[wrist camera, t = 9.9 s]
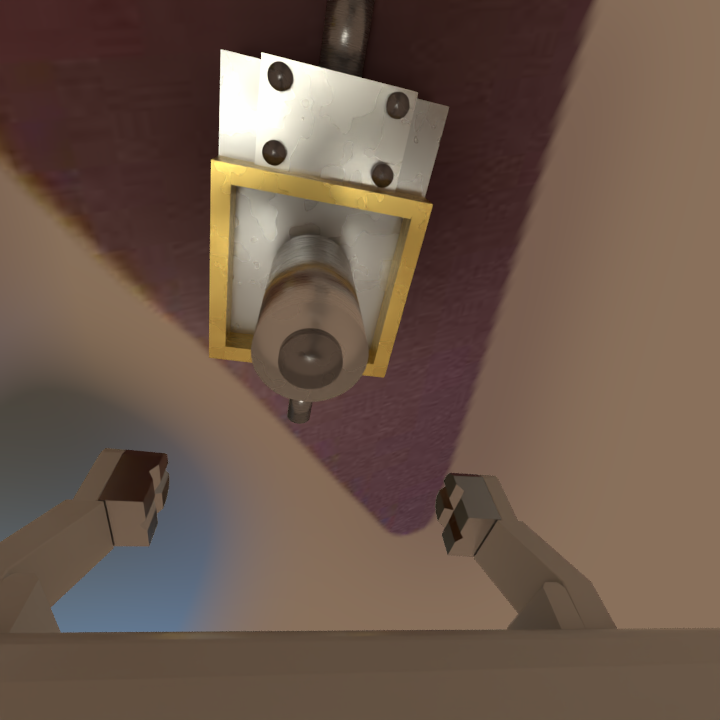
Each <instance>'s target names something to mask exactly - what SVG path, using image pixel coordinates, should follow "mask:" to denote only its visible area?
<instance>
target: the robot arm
mask: <svg viewBox="0 0 720 720" xmlns="http://www.w3.org/2000/svg"><path fill="white" fill-rule="evenodd" d="M167 464H168V458H167V454H165V453H155V452H144V451H134V450H120V449H110V448H105V449H104V450H103V451H102V452H101V453H100V454H99V456H98V458H97V459H96V461H95V463H94V464H93V466H92V468H91V470H90V471H89V473H88V475H87V476H86V478H85V480H84V482H83V483H82V485H81V486H80V488H79V490H78V491H77V493H76V495H75V497H74V498H73V500H65V501H63V502H62V503H60V504H58V505H57V506H55V507H54V508H52V509H51V510H49V511H48V512H46V513H45V514H43V515H41V516H40V517H39V518H37V519H35V520H34V521H32V522H31V523H29V524H28V525H26V526H24V527H23V528H21V529H20V530H18V531H17V532H15V533H14V534H12V535H11V536H9V537H7V538H6V539H4V540H3V541H1V542H0V720H720V628H672V629H671V628H670V629H668V628H667V629H666V628H664V629H663V628H660V629H617V627H616V626H615V624H614V622H613V621H612V619H611V617H610V615H609V613H608V611H607V609H606V608H605V606H604V604H603V602H602V600H601V598H600V597H599V595H598V593H597V591H596V589H595V588H594V586H593V584H592V583H591V581H590V580H588V579H587V578H586V577H585V576H584V575H583V574H582V573H580V572H579V571H578V570H577V569H576V568H575V567H573V565H571V564H570V563H569V562H568V561H567V560H566V559H564V558H563V557H562V556H561V555H560V554H559V553H558V552H556V551H555V550H554V549H553V548H552V547H551V546H550V545H549V544H548V543H546V542H545V541H544V540H543V539H542V538H541V537H540V536H538V535H537V534H536V533H535V532H534V531H533V530H532V529H530V528H529V527H528V526H527V525H526V524H525V523H524V522H521V521H518V520H517V517H516V516H515V514H514V511H513V509H512V507H511V505H510V503H509V501H508V499H507V496H506V494H505V492H504V490H503V488H502V486H501V484H500V482H499V480H498V478H497V477H496V476H489V475H477V474H459V473H449V474H448V475H446V477H445V479H444V483H445V487H444V488H442V489H441V490H439V492H438V495H437V497H436V504H435V508H436V515H437V519H438V522H439V523H440V524H441V525H442V526H443V527H444V528H445V529H444V531H443V533H442V537H443V541H444V544H445V547H446V551H447V554H448V555H453V556H469V557H474V559H475V560H476V562H477V563H478V564H479V565H480V566H481V568H482V569H483V570H484V572H485V573H486V574H487V575H488V577H489V578H490V579H491V580H492V581H493V583H494V584H495V585H496V586H497V588H498V589H499V590H500V591H501V593H502V594H503V595H504V596H505V598H506V599H507V600H508V601H509V603H510V604H511V605H512V606H513V608H514V609H515V610H516V611H517V613H518V615H517V616H516V617H515V619H514V620H513V621H512V622H511V623H510V625H509V626H508V628H507V630H386V631H385V630H376V631H375V630H372V631H368V630H366V631H229V632H227V631H226V632H223V631H222V632H85V633H84V632H83V633H82V632H79V633H60V630H59V627H58V625H57V623H56V620H55V618H54V615H53V613H52V610H51V606H53V605H54V604H55V603H56V602H57V601H58V600H59V599H60V598H61V597H62V596H63V595H64V594H65V593H66V592H68V591H69V590H70V589H71V588H72V587H73V586H74V585H75V584H76V583H77V582H78V581H79V580H80V579H81V578H82V577H84V576H85V575H86V574H87V573H88V572H89V571H90V570H91V569H92V568H93V567H94V566H95V565H96V564H97V563H98V562H99V561H101V559H103V558H104V557H105V556H106V555H107V554H108V553H109V552H110V551H111V550H112V549H113V546H150V543H151V540H152V538H153V535H154V532H155V529H156V527H157V524H158V521H157V513H158V512H159V511H160V510H162V509H163V507H164V504H165V502H166V498H167V494H168V489H169V473H168V472H167V471H166V467H167Z"/></svg>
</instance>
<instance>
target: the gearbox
mask: <svg viewBox="0 0 720 720" xmlns="http://www.w3.org/2000/svg"><path fill="white" fill-rule="evenodd" d="M374 1H375V0H327V5H326V13H325V21H324V29H323V37H322V46H321V54H320V62H319V67H317V66H313V65H309V64H306V63H302V62H298V61H294V60H290V59H286V58H282V57H278V56H274V55H270V54H266V53H262V52H261V59H258V58H254V57H250V56H246V55H242V54H238V53H234V52H230V51H226V50H222V49H221V63H220V115H219V155H218V156H217V157H215V158H213V159H211V213H210V312H209V358H217V359H226V360H235V361H243V362H252V358H251V346H252V340H253V336H254V332H255V328H256V324H257V320H258V316H259V312H260V309H261V305H262V301H263V297H264V293H265V289H266V285H267V281H268V277H269V273H270V269H271V265H272V261H273V258H274V256H275V254H276V252H277V251H278V249H279V248H280V247H281V246H282V245H283V244H284V243H286V242H287V241H289V240H290V239H292V238H294V237H297V236H301V235H310V234H312V235H319V236H323V237H326V238H328V239H330V240H332V241H333V242H335V243H336V244H337V245H338V246H340V247H341V248H342V250H343V251H344V252H345V254H346V256H347V258H348V260H349V263H350V266H351V271H352V275H353V280H354V284H355V288H356V293H357V297H358V302H359V306H360V311H361V315H362V320H363V324H364V329H365V333H366V338H367V342H368V349H369V357H368V362H367V366H366V369H365V371H364V373H363V375H367V376H375V377H384V376H385V373H386V369H387V366H388V362H389V359H390V355H391V352H392V348H393V345H394V341H395V337H396V334H397V330H398V327H399V323H400V320H401V316H402V313H403V309H404V306H405V302H406V299H407V295H408V291H409V288H410V284H411V281H412V277H413V274H414V270H415V267H416V263H417V260H418V256H419V253H420V249H421V245H422V242H423V238H424V235H425V231H426V228H427V224H428V221H429V217H430V214H431V210H432V207H433V204H432V203H431V202H430V201H428V200H427V199H426V198H425V195H426V191H427V188H428V184H429V180H430V177H431V173H432V169H433V166H434V162H435V158H436V154H437V151H438V147H439V143H440V140H441V136H442V132H443V129H444V125H445V121H446V117H447V114H448V110H449V107H448V106H444V105H440V104H436V103H432V102H428V101H424V100H421V99H417V96H418V92H415V91H411V90H407V89H403V88H399V87H396V86H392V85H388V84H384V83H380V82H376V81H372V80H368V79H364V78H362V72H363V67H364V61H365V55H366V49H367V43H368V37H369V31H370V25H371V19H372V13H373V7H374Z"/></svg>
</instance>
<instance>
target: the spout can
mask: <svg viewBox="0 0 720 720" xmlns="http://www.w3.org/2000/svg"><path fill="white" fill-rule="evenodd" d="M368 357H369V349H368V342H367V338H366V333H365V329H364V324H363V320H362V315H361V311H360V306H359V302H358V297H357V293H356V288H355V284H354V280H353V275H352V271H351V266H350V263H349V260H348V258H347V256H346V254H345V252H344V251H343V250H342V248H341V247H340V246H338V245H337V244H336V243H335V242H333V241H332V240H330V239H328V238H326V237H323V236H319V235H312V234H310V235H301V236H297V237H294V238H292V239H290V240H289V241H287V242H286V243H284V244H283V245H282V246H281V247H280V248H279V249H278V251H277V252H276V254H275V256H274V258H273V261H272V265H271V269H270V273H269V277H268V281H267V285H266V289H265V293H264V297H263V301H262V305H261V309H260V312H259V316H258V320H257V324H256V328H255V332H254V336H253V340H252V346H251V358H252V363H253V366H254V369H255V371H256V373H257V375H258V376H259V377H260V379H261V380H262V381H263V382H264V383H265V385H267V386H268V387H269V388H270V389H271V390H273V391H274V392H276V393H278V394H280V395H282V396H284V397H287V398H289V399H290V400H289V407H288V414H287V417H288V419H289V420H290V421H292V422H294V423H305V422H307V421H308V420H309V418H310V413H311V407H312V402H315V401H323V400H327V399H331V398H334V397H336V396H339V395H341V394H342V393H344V392H346V391H347V390H349V389H350V388H351V387H352V386H354V385H355V384H356V382H357V381H358V380H359V379H360V377H361V376H362V375H363V373H364V371H365V369H366V366H367V362H368Z"/></svg>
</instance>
